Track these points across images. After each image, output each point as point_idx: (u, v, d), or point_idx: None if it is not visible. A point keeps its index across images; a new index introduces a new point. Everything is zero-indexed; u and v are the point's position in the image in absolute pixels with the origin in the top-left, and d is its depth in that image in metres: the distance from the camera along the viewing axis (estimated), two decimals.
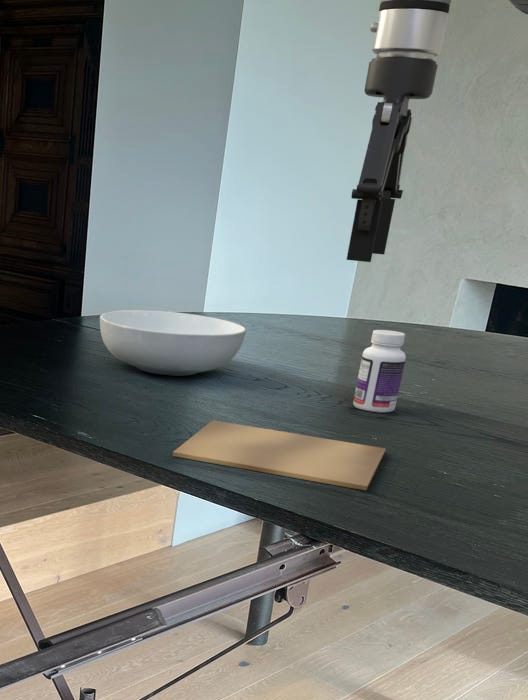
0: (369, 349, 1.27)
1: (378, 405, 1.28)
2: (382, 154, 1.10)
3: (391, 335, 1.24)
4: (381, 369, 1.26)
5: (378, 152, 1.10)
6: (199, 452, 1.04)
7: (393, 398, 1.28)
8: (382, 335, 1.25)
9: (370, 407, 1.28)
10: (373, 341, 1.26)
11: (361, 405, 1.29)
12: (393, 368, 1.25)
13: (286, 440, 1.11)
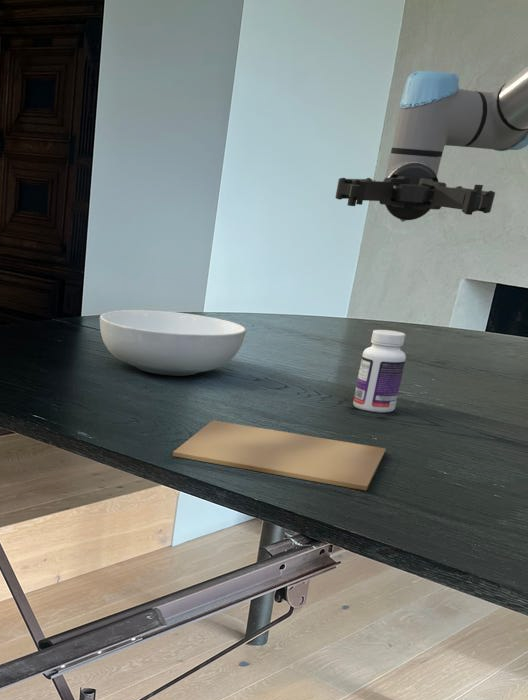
0: (369, 349, 1.27)
1: (378, 405, 1.28)
2: None
3: (391, 335, 1.24)
4: (381, 369, 1.26)
5: None
6: (199, 452, 1.04)
7: (393, 398, 1.28)
8: (382, 335, 1.25)
9: (370, 407, 1.28)
10: (373, 341, 1.26)
11: (361, 405, 1.29)
12: (393, 368, 1.25)
13: (286, 440, 1.11)
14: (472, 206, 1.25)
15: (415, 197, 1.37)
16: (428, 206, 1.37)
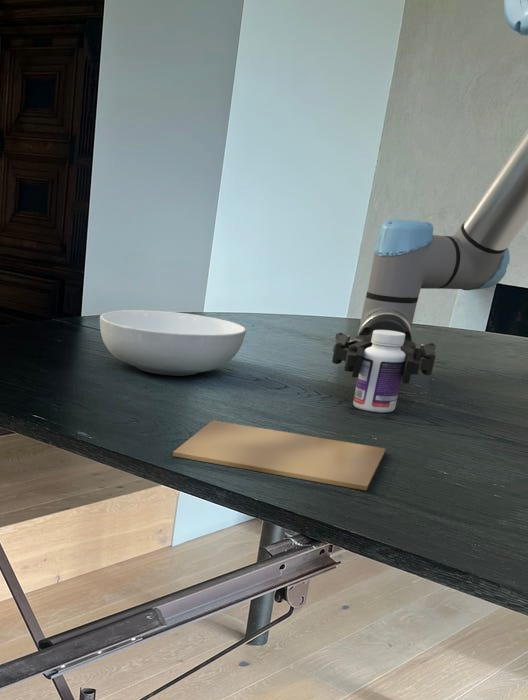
0: (369, 349, 1.27)
1: (378, 405, 1.28)
2: None
3: (391, 335, 1.24)
4: (382, 369, 1.26)
5: None
6: (199, 452, 1.04)
7: (393, 398, 1.28)
8: (382, 335, 1.25)
9: (370, 407, 1.28)
10: (373, 341, 1.26)
11: (361, 405, 1.29)
12: (393, 368, 1.25)
13: (286, 440, 1.11)
14: (409, 375, 1.23)
15: None
16: None
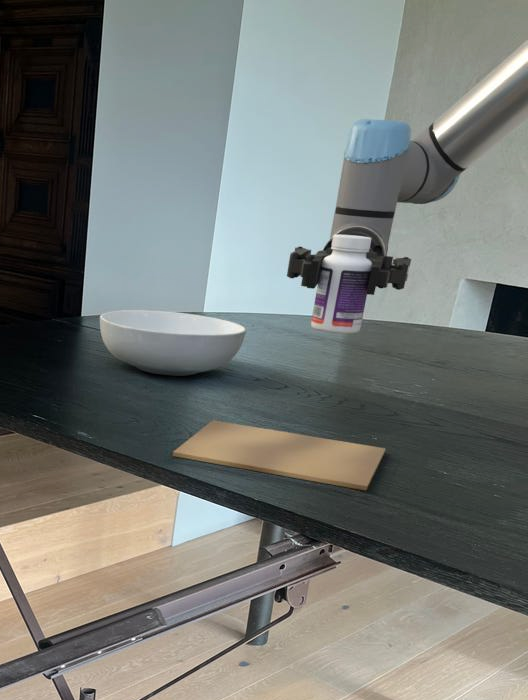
0: (329, 257, 1.06)
1: (340, 324, 1.07)
2: None
3: (354, 238, 1.04)
4: (343, 280, 1.05)
5: None
6: (199, 452, 1.04)
7: (357, 316, 1.07)
8: (343, 238, 1.04)
9: (330, 327, 1.08)
10: (333, 247, 1.06)
11: (320, 325, 1.08)
12: (357, 279, 1.05)
13: (286, 440, 1.11)
14: (374, 285, 1.02)
15: None
16: None
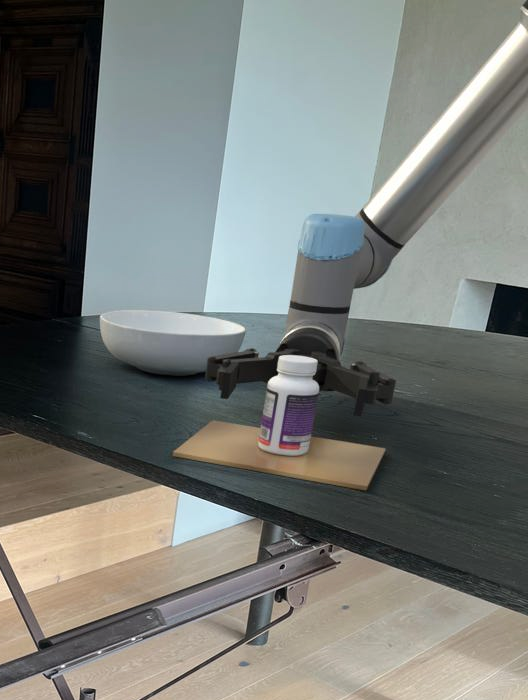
0: (274, 379, 1.04)
1: (287, 447, 1.04)
2: None
3: (299, 362, 1.01)
4: (289, 404, 1.02)
5: None
6: (199, 452, 1.04)
7: (304, 438, 1.04)
8: (288, 362, 1.02)
9: (277, 449, 1.05)
10: (279, 369, 1.03)
11: (267, 446, 1.05)
12: (303, 403, 1.02)
13: None
14: (361, 406, 1.00)
15: None
16: (321, 387, 1.12)
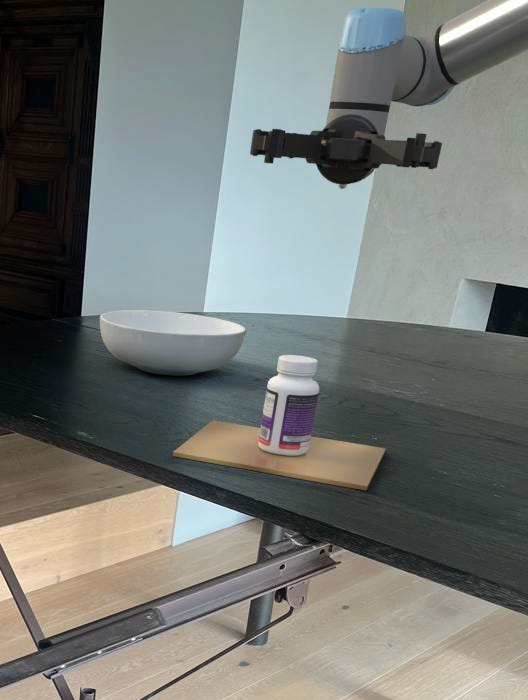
0: (274, 379, 1.04)
1: (287, 447, 1.04)
2: None
3: (299, 362, 1.01)
4: (289, 404, 1.02)
5: None
6: (199, 452, 1.04)
7: (304, 438, 1.04)
8: (288, 362, 1.02)
9: (277, 449, 1.05)
10: (279, 369, 1.03)
11: (267, 446, 1.05)
12: (303, 403, 1.02)
13: None
14: (409, 156, 1.01)
15: (348, 153, 1.13)
16: (364, 164, 1.13)
